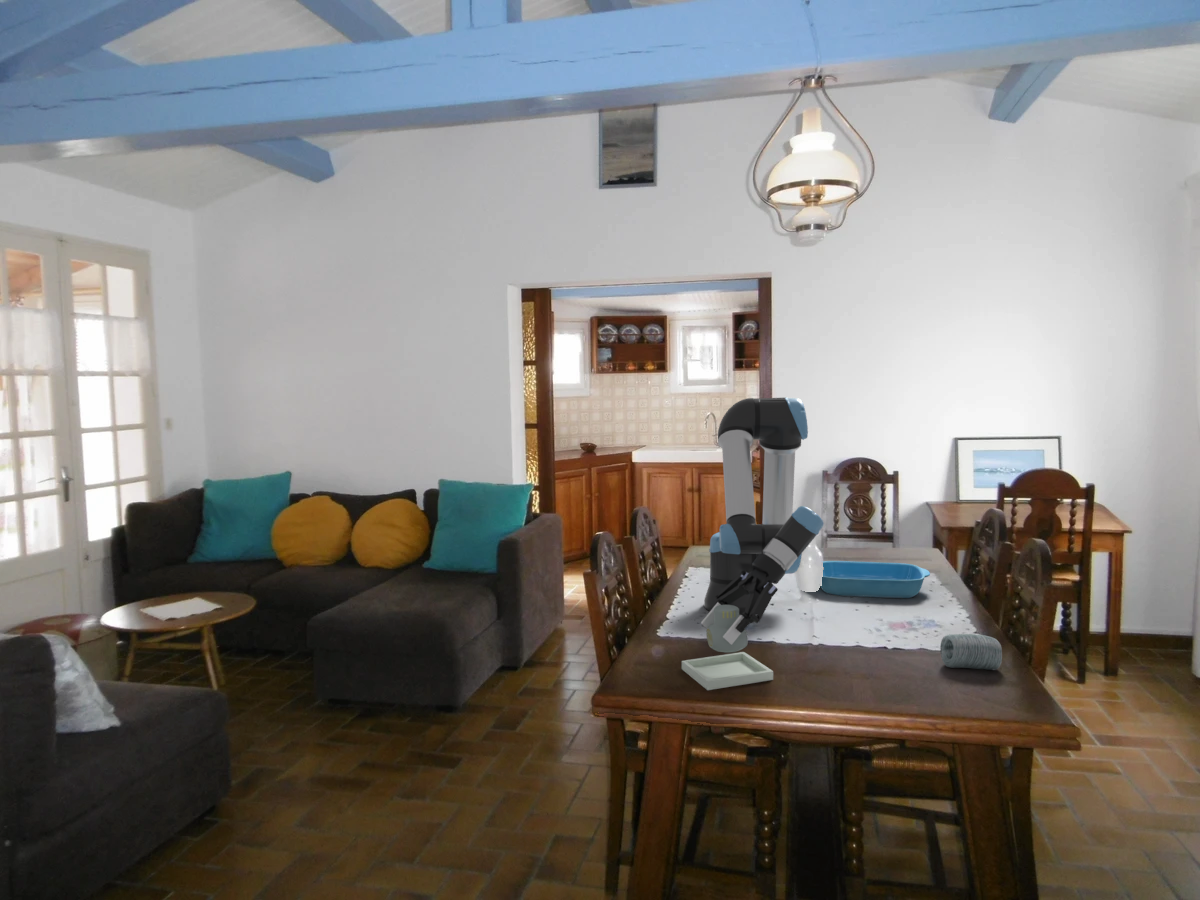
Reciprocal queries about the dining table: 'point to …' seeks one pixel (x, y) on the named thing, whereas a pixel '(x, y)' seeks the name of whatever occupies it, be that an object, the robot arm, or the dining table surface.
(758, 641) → the dining table surface
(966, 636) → the spool
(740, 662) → the sage tray
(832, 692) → the dining table surface
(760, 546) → the robot arm
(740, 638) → the air freshener
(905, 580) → the casserole dish
